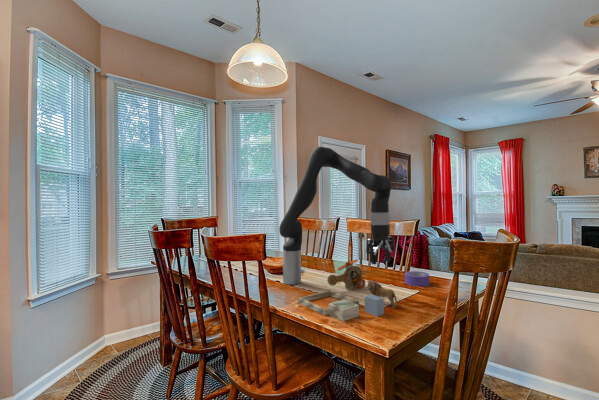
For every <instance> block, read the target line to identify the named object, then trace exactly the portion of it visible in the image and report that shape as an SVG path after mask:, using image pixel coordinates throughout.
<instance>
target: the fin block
mask: <svg viewBox="0 0 599 400" xmlns="http://www.w3.org/2000/svg"><path fill="white" fill-rule="evenodd" d="M384 298H385V297H378V296H375V295H373V294H372V293H371V294H368V295H365V296H364V312H365V313H367V314H369V315H372V316H374V317H379V316H383V315H385V303H384V302H385V301H384V300H385V299H384Z"/></svg>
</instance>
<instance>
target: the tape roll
mask: <svg viewBox="0 0 599 400" xmlns="http://www.w3.org/2000/svg"><path fill="white" fill-rule="evenodd" d="M404 283H405V284H406V285H408V286H412V287H421V288H422V287H428V286H430V273H428V272H424V271H419V270H418V271H416V270H410V271H405V272H404Z"/></svg>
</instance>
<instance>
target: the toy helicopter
mask: <svg viewBox="0 0 599 400" xmlns="http://www.w3.org/2000/svg"><path fill="white" fill-rule="evenodd" d="M357 262H358V259H353V260H351V261H346V262H345V264H343V265H341V266H339V267H337V271H341V270H343V269H345V271H344V272H343V273H341V274H338V275H336V274H330V275H328V277H327V283H328V284H329V285H330V286H335V285H337V284H338V283H342V282H343V283H344V287H345V289H346V290H351V288H354V287H355V288H358V289H361V290H362V289H364V288H365V286H366V280H365V279H364V278H363V272H362V269H361V267H359V266H357V265H353V264H355V263H357Z"/></svg>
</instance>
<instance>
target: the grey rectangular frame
mask: <svg viewBox="0 0 599 400" xmlns="http://www.w3.org/2000/svg"><path fill="white" fill-rule="evenodd" d="M326 297H333V298H335V299H338V300H337V301H334V302H331V303H330V302H329V303H327V304H328V306H327V308H324V307H321V306H319V305H317V304H315V303H313V302H311V301H315V300H318V299H323V298H326ZM297 303H298V304H299V305H302V306H304V307H306V308H308V309H310V310H312V311H314V312H315V313H318V314H320V315H322V316H331V317H333V318H335V319H338V320H339V321H342V322H345V321H347V320H351V319H355V318H357V317H360V300H358V299H355V298H352V297H350V296H347V295H345V294H343V293H339V292H336V291H334V290H326V291H322V292H317V293H313V294H309V295H305V296H299V297H297Z"/></svg>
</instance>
